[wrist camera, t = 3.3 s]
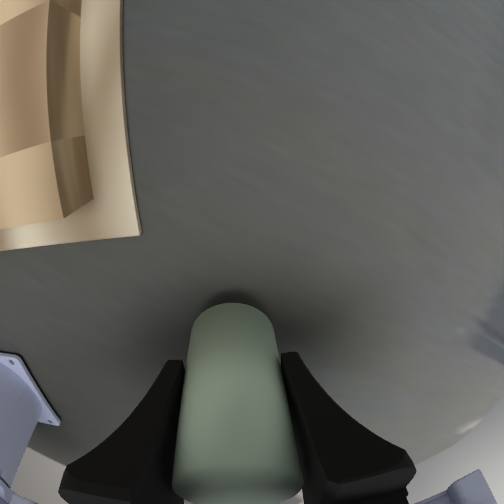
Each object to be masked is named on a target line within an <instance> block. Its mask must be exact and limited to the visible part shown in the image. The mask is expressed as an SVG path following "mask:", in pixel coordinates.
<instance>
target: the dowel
mask: <svg viewBox="0 0 504 504" xmlns="http://www.w3.org/2000/svg"><path fill="white" fill-rule="evenodd" d="M302 487H303V477H302V471H301V466H300V461H299V456H298V451H297V446H296V440H295V435H294V430H293V425H292V420H291V415H290V410H289V405H288V400H287V394H286V389H285V384H284V379H283V374H282V369H281V364H280V359H279V354H278V349H277V344H276V339H275V334H274V329H273V326H272V324H271V322H270V320H269V319H268V317H267V316H266V315H265V314H264V313H262V312H261V311H260V310H258V309H256V308H254V307H252V306H249V305H246V304H241V303H223V304H219V305H216V306H213V307H211V308H209V309H207V310H205V311H204V312H203V313H201V314H200V315H199V316H198V317H197V319H196V320H195V322H194V324H193V326H192V330H191V335H190V342H189V349H188V355H187V362H186V369H185V376H184V383H183V391H182V398H181V406H180V414H179V422H178V430H177V439H176V448H175V457H174V467H173V477H172V489H173V490H174V492H175V493H176V494H177V495H178V496H180V497H181V498H183V499H185V500H187V501H189V502H192V503H194V504H277V503H280V502H283V501H285V500H287V499H289V498H291V497H293V496H295V495H296V494H297V493H298V492H299V491H300V490H301V489H302Z"/></svg>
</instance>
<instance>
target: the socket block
mask: <svg viewBox="0 0 504 504" xmlns="http://www.w3.org/2000/svg"><path fill="white" fill-rule="evenodd" d="M122 22H123V0H0V251H4V250H11V249H19V248H28V247H36V246H44V245H53V244H62V243H71V242H80V241H89V240H98V239H108V238H118V237H128V236H138V235H140V234H141V233H142V230H141V224H140V219H139V213H138V207H137V200H136V194H135V187H134V180H133V173H132V165H131V157H130V148H129V139H128V129H127V118H126V106H125V91H124V73H123V35H122Z"/></svg>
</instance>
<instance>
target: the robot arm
mask: <svg viewBox="0 0 504 504" xmlns="http://www.w3.org/2000/svg"><path fill="white" fill-rule="evenodd" d="M281 369H282V374H283V379H284V384H285V389H286V394H287V400H288V405H289V410H290V415H291V420H292V425H293V430H294V435H295V440H296V446H297V451H298V456H299V461H300V466H301V471H302V477H303V487H302V492H303V499H304V504H409V503H408V500H407V498H406V496H408V491H407V489H406V486H407V484H409V482H410V481H411V480H412V479H413V477H414V475H415V474H416V468H415V466H414V463H413V461H412V460H411V458H410V457H409V455H408V453H407V452H406V450H404V449H402V448H400V447H398V446H396V445H394V444H392V443H390V442H388V441H386V440H384V439H382V438H381V437H379V436H377V435H376V434H374V433H373V432H371V431H370V430H368V429H367V428H365V427H364V426H363V425H361V424H360V423H358V422H357V421H356V420H355V419H353V418H352V417H351V416H350V415H349V414H347V413H346V412H345V411H344V410H343V409H342V408H341V407H340V406H339V405H338V404H337V403H336V402H335V401H334V400H333V399H332V398H331V397H330V396H329V395H328V394H327V393H326V392H325V391H324V389H323V388H322V387H321V386H320V385H319V383H318V382H317V381H316V380H315V378H314V377H313V376H312V374H311V373H310V371H309V370H308V369H307V367H306V366H305V364H304V363H303V361H302V359H301V358H300V356H299V354H298V353H297V352H288V353H281ZM184 376H185V368H184V365H183V361H182V360H168V361H167V362H166V364H165V365H164V367H163V369H162V370H161V372H160V374H159V375H158V377H157V379H156V380H155V382H154V383H153V385H152V386H151V388H150V389H149V391H148V392H147V394H146V395H145V397H144V398H143V399H142V401H141V402H140V403H139V405H138V406H137V407H136V408H135V410H134V411H133V412H132V413H131V415H130V416H129V417H128V418H127V419H126V420H125V421H124V422H123V423H122V424H121V426H120V427H119V428H118V429H116V430H115V431H114V432H113V433H112V434H111V435H110V436H109V437H108V438H107V439H106V440H104V441H103V442H102V443H101V444H99V445H98V446H97V447H95V448H94V449H93V450H91V451H90V452H89V453H87V454H86V455H84V456H83V457H81V458H79V459H77V460H76V461H74V462H72V463H71V464H69V465H67V466H66V469H65V471H64V474H63V477H62V480H61V484H60V487H59V491H58V492H59V494H60V496H61V497H62V498H63V499H64V500H65V501H66V502H67V503H69V504H184V499H183V498H181V497H180V496H178V495H177V494H176V493H175V492H174V490H173V489H172V477H173V467H174V457H175V448H176V439H177V430H178V422H179V414H180V406H181V398H182V391H183V383H184ZM37 422H42V423H46V424H51V425H56V426H59V425H60V423H61V421H60V420H59V418H58V417H57V415H56V414H55V412H54V411H53V410H52V408H51V407H50V405H49V404H48V402H47V401H46V399H45V398H44V396H43V394H42V393H41V391H40V390H39V388H38V386H37V385H36V383H35V382H34V380H33V378H32V377H31V375H30V373H29V371H28V370H27V368H26V366H25V364H24V363H23V361H22V359H21V358H20V357H19V356H18V355H14V354H6V353H0V504H37V503H35V502H34V501H31V500H29V499H26V498H23V497H21V496H19V495H17V494H16V493H15V492H13V491H12V490H11V489H10V488H11V485H12V482H13V480H14V477H15V474H16V472H17V469H18V466H19V464H20V462H21V459H22V457H23V454H24V452H25V449H26V447H27V445H28V443H29V440H30V438H31V436H32V433H33V431H34V429H35V427H36V425H37ZM415 504H497V503H496V500H495V498H494V496H493V494H492V492H491V490H490V488H489V486H488V484H487V482H486V480H485V478H484V476H483V475H482V472H481V471H480V470H479V469H478V470H476V471H474V472H472V473H470V474H468V475H467V476H464V477H463V478H460V479H459V480H457V481H455V482H454V483H453V484H451V485H450V486H449V487H448V489H447V490H446V491H443V492H441V493H439V494H437V495H435V496H432V497H430V498H427V499H425V500H423V501H420V502H417V503H415Z"/></svg>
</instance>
